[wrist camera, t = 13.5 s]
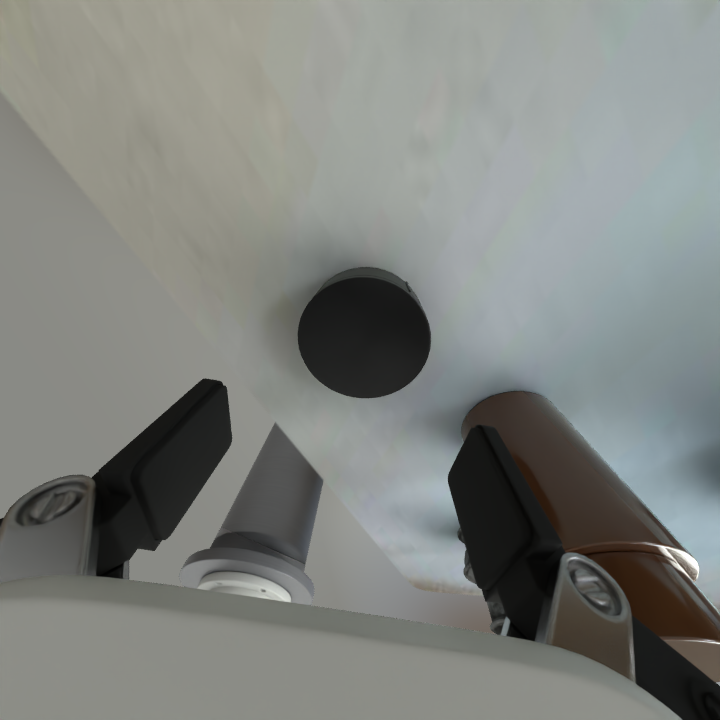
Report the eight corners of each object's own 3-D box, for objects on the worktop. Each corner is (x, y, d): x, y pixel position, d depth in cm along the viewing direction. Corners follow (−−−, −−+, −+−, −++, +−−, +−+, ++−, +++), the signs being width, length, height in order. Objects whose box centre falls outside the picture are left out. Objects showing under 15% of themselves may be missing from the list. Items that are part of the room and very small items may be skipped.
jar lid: (358, 237, 14) (353, 241, 12) (449, 319, 16) (461, 338, 14) (288, 331, 18) (273, 351, 15) (372, 391, 20) (370, 417, 17)
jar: (497, 469, 23) (603, 699, 12) (442, 428, 21) (508, 657, 10) (576, 425, 20) (814, 679, 9) (520, 373, 18) (734, 614, 7)
